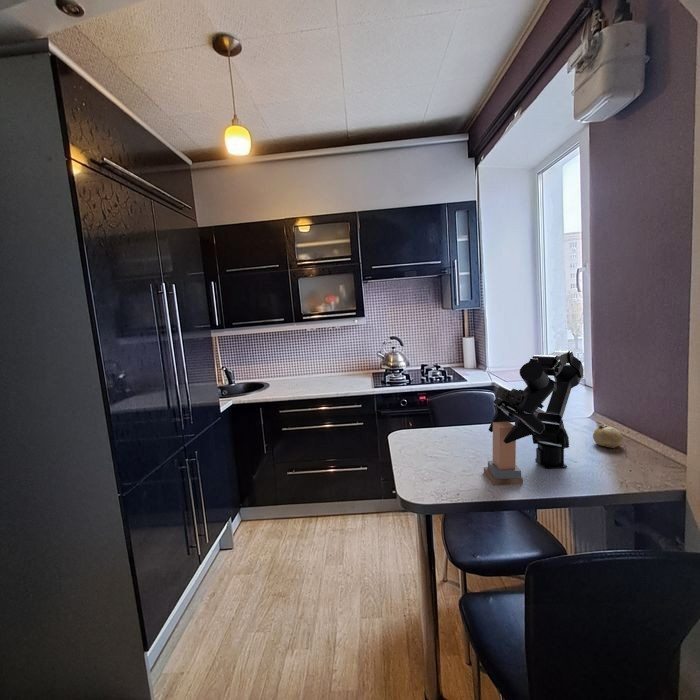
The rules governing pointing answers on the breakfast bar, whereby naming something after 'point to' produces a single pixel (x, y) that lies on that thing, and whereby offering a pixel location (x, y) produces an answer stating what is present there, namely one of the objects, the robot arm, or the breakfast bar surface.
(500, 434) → the pillar
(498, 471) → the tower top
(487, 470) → the tower base
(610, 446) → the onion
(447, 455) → the breakfast bar surface
